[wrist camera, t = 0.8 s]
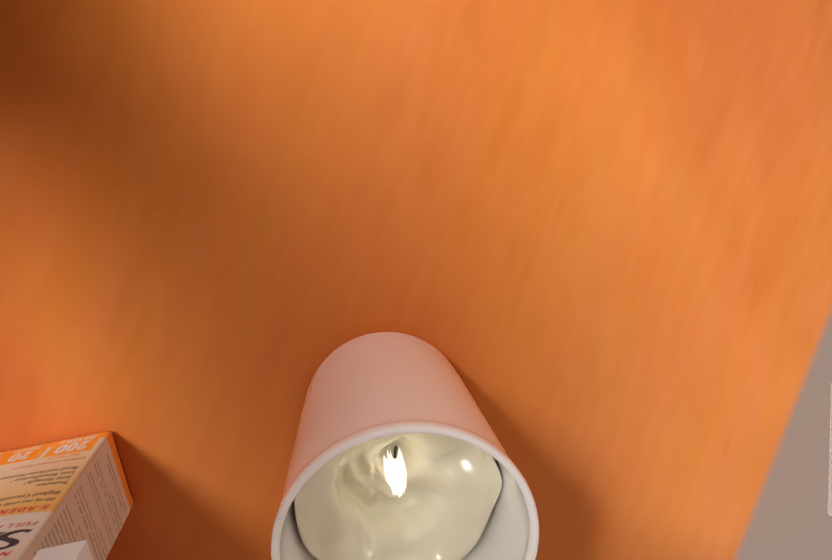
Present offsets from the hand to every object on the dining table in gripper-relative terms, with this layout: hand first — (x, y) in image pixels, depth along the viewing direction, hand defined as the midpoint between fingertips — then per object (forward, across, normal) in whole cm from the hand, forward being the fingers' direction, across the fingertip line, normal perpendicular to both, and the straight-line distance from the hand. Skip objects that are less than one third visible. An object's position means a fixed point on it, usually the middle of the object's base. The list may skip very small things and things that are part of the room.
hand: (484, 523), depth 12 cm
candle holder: (+23, -1, -8) cm, 24 cm away
